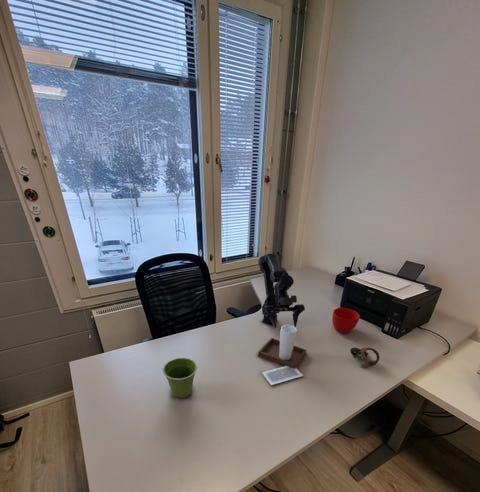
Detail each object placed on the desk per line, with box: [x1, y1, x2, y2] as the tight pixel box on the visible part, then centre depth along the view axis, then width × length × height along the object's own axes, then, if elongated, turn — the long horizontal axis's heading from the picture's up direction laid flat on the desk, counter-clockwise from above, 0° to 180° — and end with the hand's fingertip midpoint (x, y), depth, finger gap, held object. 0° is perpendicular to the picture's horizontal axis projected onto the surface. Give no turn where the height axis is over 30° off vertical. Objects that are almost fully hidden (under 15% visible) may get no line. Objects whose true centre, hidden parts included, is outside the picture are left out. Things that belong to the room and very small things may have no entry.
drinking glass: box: [279, 324, 298, 360], centre depth 115 cm, size 7×7×15 cm
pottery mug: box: [349, 346, 380, 369], centre depth 118 cm, size 12×10×8 cm
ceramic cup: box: [331, 306, 361, 334], centre depth 142 cm, size 13×17×10 cm
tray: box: [257, 337, 307, 369], centre depth 121 cm, size 18×14×2 cm
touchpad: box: [261, 366, 304, 386], centre depth 109 cm, size 8×15×2 cm, turn 113°
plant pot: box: [162, 357, 198, 399], centre depth 97 cm, size 12×12×11 cm
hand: (285, 327), depth 120 cm, fingers open, 9 cm apart
